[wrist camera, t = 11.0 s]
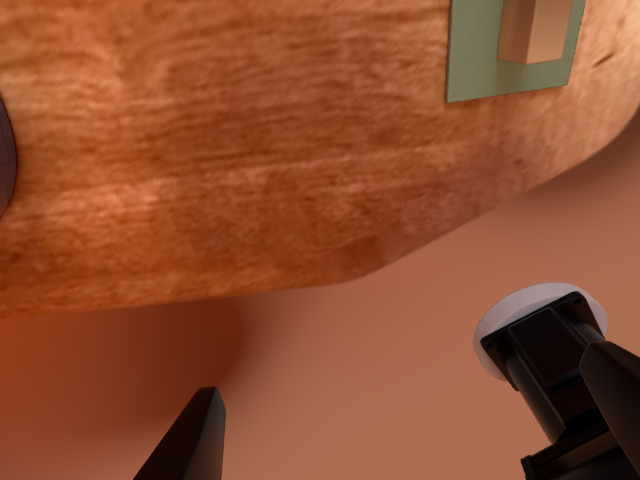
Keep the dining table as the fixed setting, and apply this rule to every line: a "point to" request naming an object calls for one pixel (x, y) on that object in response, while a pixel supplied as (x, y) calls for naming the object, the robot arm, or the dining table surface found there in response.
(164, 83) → the dining table surface
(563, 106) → the dining table surface
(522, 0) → the beige slabs
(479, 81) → the mat
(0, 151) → the bowl
